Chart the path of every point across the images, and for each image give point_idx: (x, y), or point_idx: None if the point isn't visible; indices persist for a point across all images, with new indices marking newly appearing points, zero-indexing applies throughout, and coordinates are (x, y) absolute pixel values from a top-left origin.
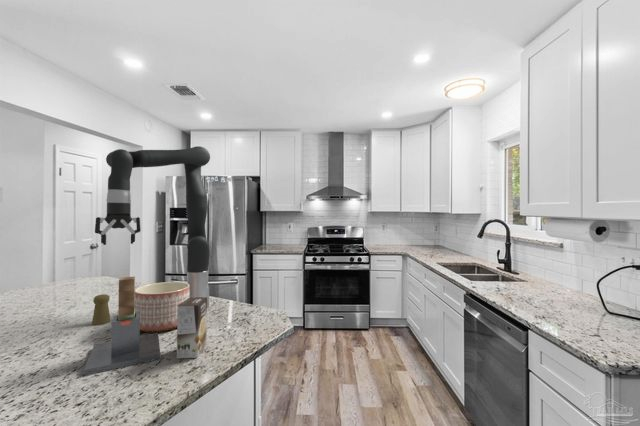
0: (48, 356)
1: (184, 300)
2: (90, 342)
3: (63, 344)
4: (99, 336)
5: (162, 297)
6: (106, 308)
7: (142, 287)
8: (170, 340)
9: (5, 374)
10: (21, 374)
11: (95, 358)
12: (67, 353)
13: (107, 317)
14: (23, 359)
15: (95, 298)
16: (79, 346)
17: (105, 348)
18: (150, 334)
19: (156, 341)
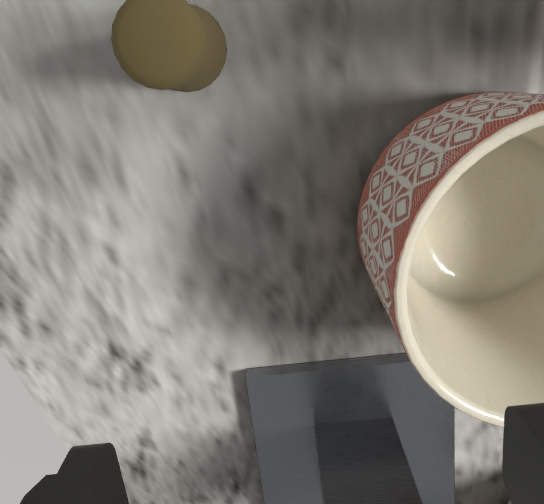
0: (121, 372)
1: None
2: (216, 304)
3: (124, 285)
4: (231, 253)
5: None
6: (202, 65)
7: (439, 200)
8: None
9: (64, 445)
10: None
11: (279, 484)
12: (172, 371)
13: (214, 68)
14: (54, 365)
15: (129, 73)
16: (189, 327)
17: (291, 426)
18: None
19: (446, 435)
